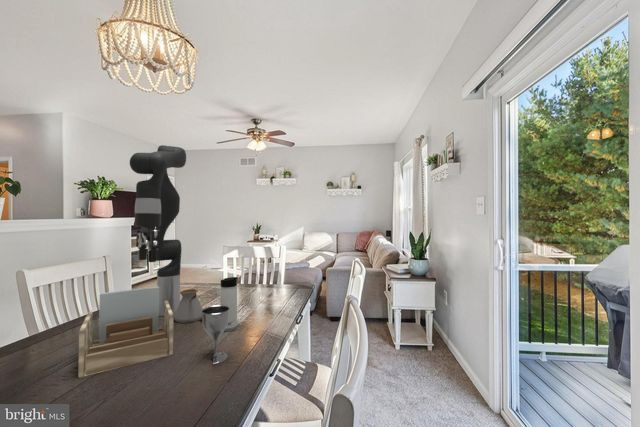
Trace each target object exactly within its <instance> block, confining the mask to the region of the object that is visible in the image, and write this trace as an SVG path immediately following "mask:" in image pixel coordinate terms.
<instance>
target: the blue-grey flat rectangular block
mask: <svg viewBox="0 0 640 427" xmlns="http://www.w3.org/2000/svg"><path fill="white" fill-rule="evenodd" d="M98 304H99V309H98V310H99V311H98V312H99V314H98V319H99V322H98V340H99V343H104V342H106V325H107V324H111V323H117V322H123V321H129V320H135V319H141V318H147V317H152V318H153V321H152V333H155V332H159V328H160V326H159V320H160V318H159V317H160V316H159V286H157V285H156V286H151V287H141V288H135V289H134V288H133V289H124V290H118V291H117V290H116V291H110V292H109V291H108V292H107V291H106V292H100V293H99V303H98Z"/></svg>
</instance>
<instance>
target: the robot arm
mask: <svg viewBox="0 0 640 427" xmlns="http://www.w3.org/2000/svg"><path fill="white" fill-rule="evenodd" d="M186 163H187V152H186V150H185V149H184V148H183V147H180V146H172V145H159V146H158V147H157V150H156V151H153V152H136V153H133V154H132V155H131V157H130V159H129V166H130V169H131V170H132V171H133V172H134V173H135V174H140V175H152V176H151V177H150V178H148V179H145V180H140V181H138V182H137V183H136V184H135V203H134V227H138V228H140V229H136V239H135V241H136V242H135V246H136V247H137V249H138V260H140V261H146V260H147V262H148V263H156V262H162V261H163V262H164V261H170V262H169V263H168V264H166V265H165V266H163V267H160V268H158V270H156V275H157V276H156V287H157V286H159V317H164V313H165V301H168V303H169V305H170V308H171V310H172V313H173V316H174V315H175V313H176V310H177V308H178V306H179V304H180V301H181V293H180V292H181V265H182V264H181V261H182V260H181V259H182V242H181V241H180V240H179V239H164V238H165V235H166V234H167V233H166V232H167V230H168V229H169V227H170V225H171V224H172V223H173V222H174V220H176V218H177V216H178V215H179V213H180V203H181V202H180V201H181V198H180V194H179V192H178V191H177V189H176V188H175V186H174V185H173V183H172V181H171V180H170V178H169V174H168V169H170V168H178V169H180V168H183V167H184V166H186ZM147 257H148V258H147Z"/></svg>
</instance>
